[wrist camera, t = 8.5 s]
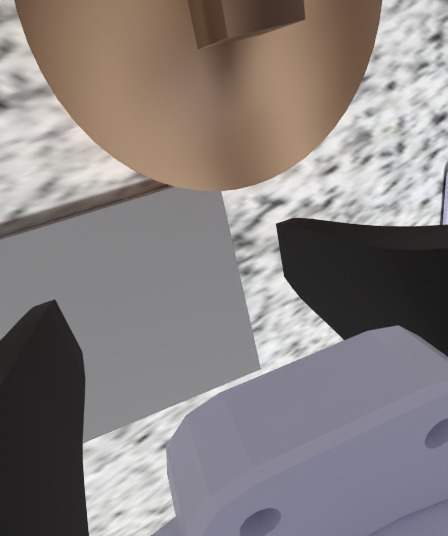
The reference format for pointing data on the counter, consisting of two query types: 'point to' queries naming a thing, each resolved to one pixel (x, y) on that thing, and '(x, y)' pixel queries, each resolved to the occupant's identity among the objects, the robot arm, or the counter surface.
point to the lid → (204, 79)
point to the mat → (138, 299)
